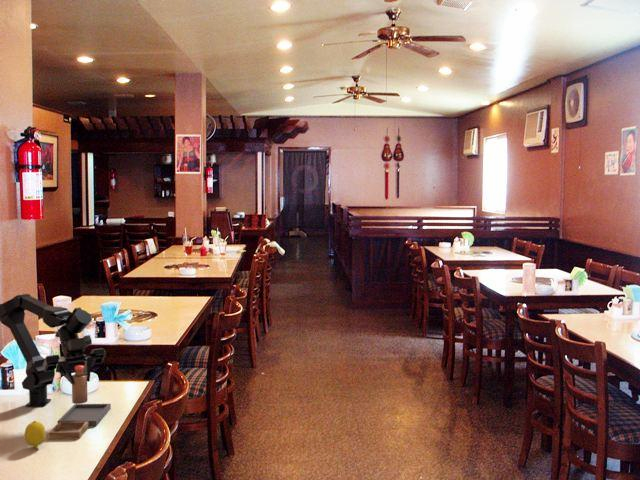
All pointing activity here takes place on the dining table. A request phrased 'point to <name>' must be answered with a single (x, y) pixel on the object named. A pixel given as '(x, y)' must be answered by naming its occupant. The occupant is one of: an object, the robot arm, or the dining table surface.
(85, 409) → the tray
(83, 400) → the bottle
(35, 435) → the lemon
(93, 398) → the dining table surface
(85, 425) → the stand
